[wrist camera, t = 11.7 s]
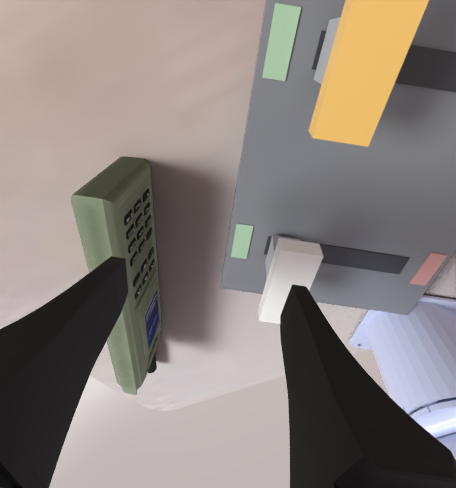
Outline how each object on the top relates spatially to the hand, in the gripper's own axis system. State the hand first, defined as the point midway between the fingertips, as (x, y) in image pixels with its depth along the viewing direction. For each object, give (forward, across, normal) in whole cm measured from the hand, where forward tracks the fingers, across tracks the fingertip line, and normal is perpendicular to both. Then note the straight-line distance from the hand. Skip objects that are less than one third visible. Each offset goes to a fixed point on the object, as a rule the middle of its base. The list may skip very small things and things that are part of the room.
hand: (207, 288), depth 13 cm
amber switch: (+8, -5, -9) cm, 13 cm away
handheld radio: (+11, +6, +11) cm, 17 cm away
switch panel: (+10, -9, -3) cm, 14 cm away
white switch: (+8, -5, +3) cm, 10 cm away
